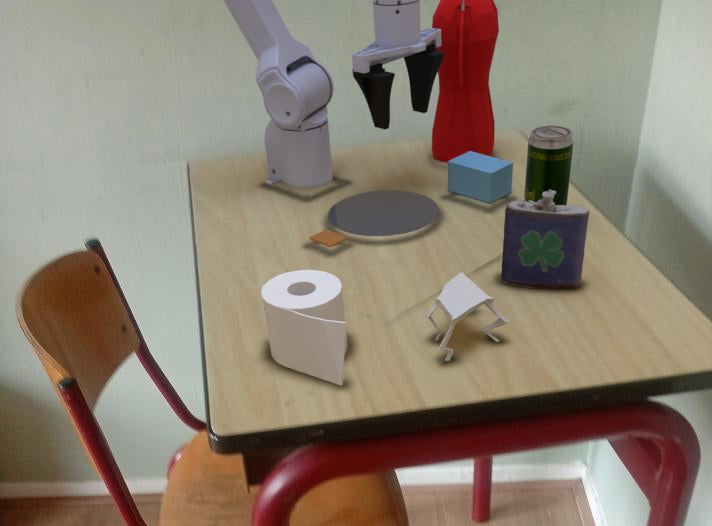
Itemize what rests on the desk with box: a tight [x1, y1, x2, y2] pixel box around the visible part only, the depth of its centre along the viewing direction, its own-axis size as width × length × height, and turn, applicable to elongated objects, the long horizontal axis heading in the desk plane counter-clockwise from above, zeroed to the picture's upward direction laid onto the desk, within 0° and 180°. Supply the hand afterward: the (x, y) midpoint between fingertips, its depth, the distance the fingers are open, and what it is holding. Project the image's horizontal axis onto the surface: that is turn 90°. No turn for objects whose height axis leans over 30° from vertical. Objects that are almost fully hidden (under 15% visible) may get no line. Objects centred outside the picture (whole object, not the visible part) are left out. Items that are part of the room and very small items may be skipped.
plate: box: [327, 189, 440, 237], centre depth 109 cm, size 15×15×1 cm
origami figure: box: [426, 271, 511, 362], centre depth 85 cm, size 12×8×5 cm
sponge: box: [447, 151, 514, 205], centre depth 111 cm, size 8×5×5 cm, turn 47°
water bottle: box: [431, 0, 500, 163], centre depth 115 cm, size 9×11×25 cm
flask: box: [501, 190, 590, 290], centre depth 90 cm, size 9×3×11 cm, turn 74°
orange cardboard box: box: [308, 229, 348, 248], centre depth 103 cm, size 4×3×1 cm
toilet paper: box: [260, 269, 348, 387], centre depth 83 cm, size 8×11×7 cm
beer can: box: [523, 125, 574, 206], centre depth 100 cm, size 5×5×12 cm
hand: (401, 119), depth 107 cm, fingers open, 7 cm apart
